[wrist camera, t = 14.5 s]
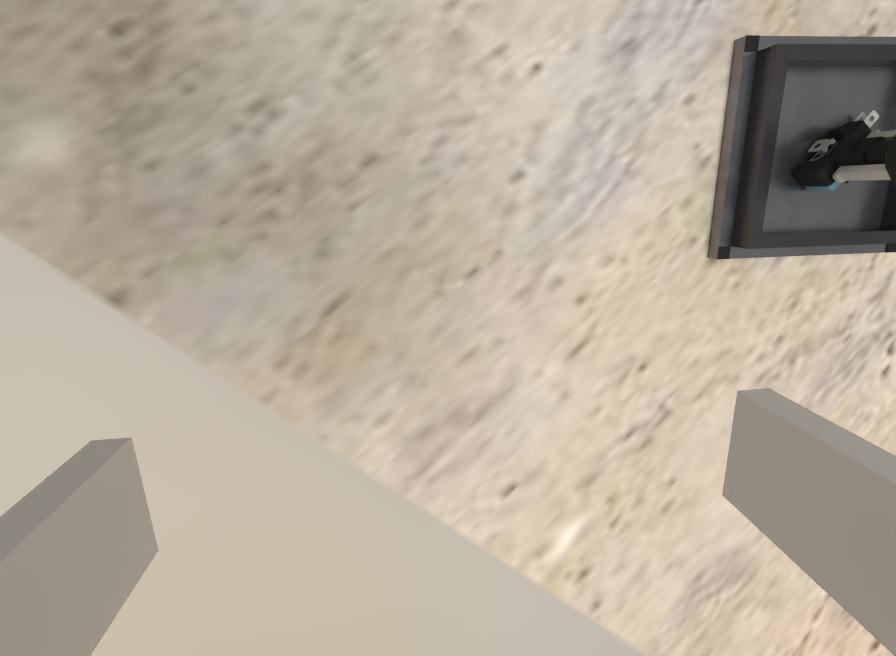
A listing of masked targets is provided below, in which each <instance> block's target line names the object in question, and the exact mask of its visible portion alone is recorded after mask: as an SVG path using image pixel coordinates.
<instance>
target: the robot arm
mask: <svg viewBox="0 0 896 656" xmlns="http://www.w3.org/2000/svg"><path fill="white" fill-rule="evenodd" d="M722 495H723V496H724V497H725V498H726V499H727V500H728V501H729V502H730V503H731V504H733V505H734V506H735V507H736V508H737V509H738V510H739V511H740V512H741V513H742V514H743V515H744V516H745V517H746V518H747V519H749V520H750V521H751V522H752V523H753V524H754V525H755V526H756V527H757V528H758V529H759V530H760V531H761V532H762V533H764V534H765V535H766V536H767V537H768V538H769V539H770V540H771V541H772V542H773V543H774V544H775V545H776V546H777V547H779V548H780V549H781V550H782V551H783V552H784V553H785V554H786V555H787V556H788V557H789V558H790V559H791V560H792V561H794V562H795V563H796V564H797V565H798V566H799V567H800V568H801V569H802V570H803V571H804V572H805V573H806V574H807V575H809V576H810V577H811V578H812V579H813V580H814V581H815V582H816V583H817V584H818V585H819V586H820V587H821V588H822V589H824V590H825V591H826V592H827V593H828V594H829V595H830V596H831V597H832V598H833V599H834V600H835V601H836V602H837V603H839V604H840V605H841V606H842V607H843V608H844V609H845V610H846V611H847V612H848V613H849V614H850V615H851V616H852V617H854V618H855V619H856V620H857V621H858V622H859V623H860V624H861V625H862V626H863V627H864V628H865V629H866V630H867V631H868V632H870V633H871V634H872V635H873V636H874V637H875V638H876V639H877V640H878V641H879V642H880V643H881V644H882V645H883V646H885V647H886V648H887V649H888V650H889V651H890V652H891V653H892V654H893V655H894V656H896V456H894V455H893V454H891V453H889V452H887V451H885V450H883V449H881V448H879V447H878V446H876V445H874V444H872V443H870V442H868V441H866V440H864V439H863V438H861V437H859V436H857V435H855V434H853V433H851V432H850V431H848V430H846V429H844V428H842V427H840V426H838V425H836V424H835V423H833V422H831V421H829V420H827V419H825V418H823V417H821V416H820V415H818V414H816V413H814V412H812V411H810V410H808V409H806V408H805V407H803V406H801V405H799V404H797V403H795V402H793V401H791V400H790V399H788V398H786V397H784V396H782V395H780V394H778V393H777V392H775V391H773V390H771V389H769V388H767V389H754V390H741V391H737V398H736V405H735V411H734V418H733V425H732V432H731V439H730V446H729V453H728V459H727V466H726V473H725V480H724V487H723V494H722ZM157 552H158V547H157V543H156V538H155V535H154V530H153V526H152V522H151V518H150V513H149V509H148V505H147V501H146V497H145V492H144V488H143V484H142V480H141V476H140V471H139V467H138V463H137V459H136V455H135V451H134V446H133V442H132V438H120V439H106V440H94V441H90V442H89V443H88V444H87V445H86V446H84V447H83V448H82V449H81V450H80V451H79V452H77V453H76V454H75V455H74V456H72V457H71V458H70V459H69V460H68V461H66V462H65V463H64V464H63V465H62V466H61V467H59V468H58V469H57V470H56V471H55V472H53V473H52V474H51V475H50V476H49V477H47V478H46V479H45V480H44V481H43V482H41V483H40V484H39V485H38V486H37V487H35V488H34V489H33V490H32V491H31V492H29V493H28V494H27V495H26V496H25V497H23V498H22V499H21V500H20V501H19V502H18V503H16V504H15V505H14V506H13V507H11V508H10V509H9V510H8V511H7V512H6V513H4V514H3V515H2V516H1V517H0V656H90V655H91V654H92V652H93V651H94V649H95V647H96V646H97V644H98V643H99V641H100V640H101V638H102V636H103V635H104V634H105V632H106V630H107V629H108V627H109V626H110V624H111V623H112V621H113V620H114V618H115V617H116V615H117V613H118V612H119V610H120V609H121V607H122V606H123V604H124V603H125V601H126V600H127V598H128V597H129V595H130V593H131V592H132V590H133V589H134V587H135V586H136V584H137V583H138V581H139V580H140V578H141V576H142V575H143V573H144V572H145V570H146V569H147V567H148V565H149V564H150V563H151V561H152V559H153V558H154V556H155V555H156V553H157Z"/></svg>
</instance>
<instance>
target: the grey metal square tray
mask: <svg viewBox="0 0 896 656" xmlns="http://www.w3.org/2000/svg"><path fill="white" fill-rule="evenodd" d="M872 110H875V111H876V113H877V114H878V115H879V118H878V119H877V120H876V121H875V123H874V124H873V125H872V126H871V127H870V129H871V130H872V131H877V130H879V131H881V132H883V131H892V130H896V37H813V36H745V37H743V38H740V39H738V40H736V41H735V43H734V51H733V59H732V67H731V75H730V83H729V91H728V99H727V107H726V115H725V123H724V131H723V139H722V147H721V155H720V163H719V171H718V179H717V187H716V195H715V203H714V211H713V219H712V227H711V235H710V243H709V251H708V257H710V258H715V259H729V258H753V257H778V256H803V255H828V254H853V253H878V252H896V188H895V187H894V185H893V183H892V181H891V180H859V181H849V182H848V183H841V184H840V185H839V186H838V187H837V188H836V189H835V190H832V191H807V189H806V188H805V187H804V186H803V185H802V184H801V183H800V182H799V181H798V180H797V178H796V177H795V176H794V175H793V174H792V171H793V170H794V169H795V167H796V166H797V165H799V164H801V163H805V162H806V161H807V160H808V159H809V158H810V157H811V156H812V155H813V153H814V152H808V150H809V148H810V147H811V146H812V145H813V144H814V143H815V142H816V141H818V140H824V139H827V138H828V136H829V135H830V134H831V133H832V132H833V131H834V130H835V129H836V128H838V127H842V126H843V125H844V124H845V123H847V122H852V121H854V119H855V118H856V117H857V116H858V115H859V114H860V113H861V112H864V114H865V115H866V116H868V115H869V113H870V112H871V111H872ZM859 120H862V118H859V119H858V121H859ZM869 121H873V116H871V117H870V118H869ZM820 145H821V144H818V145H816V146H815V147H814V148H817V147H819V146H820Z"/></svg>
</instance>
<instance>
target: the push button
mask: <svg viewBox="0 0 896 656" xmlns="http://www.w3.org/2000/svg"><path fill="white" fill-rule="evenodd" d="M871 116H873V121H869V118H870V117H871ZM859 118H862V120H859V121H858V119H859ZM878 118H879V115H878V114H877V113H876V111H875V110H872V111H871V112H870V113H869V115H868V116H866V115H865V114H864V112H861V113H860V114H859V115H858V116H857V117H856V118H855V119H854V121H852V122H847V123H845V124H844V125H843V126H842V127H838V128H836V129H835V130H834V131H833V132H832V133H831V134H830V135H829V136H828V138H827V139H824V140H818V141H816V142H815V143H814V144H813V145H812V146H811V147H810V148H809V150H808V152H814V153H813V155H812V156H811V157H810V158H809V159H808V160H807V161H806V162H805V163H801V164H799V165H797V166H796V167H795V169H794V170H793V171H792V174H793V175H794V176H795V177H796V178H797V180H798V181H799V182H800V183H801V184H802V185H803V186H804V187H805V188H806V189H807V191H832V190H835V189H836V188H837V187H838V186H839V185H840V184H841V183H848V182H849V181H859V180H891V181H892V183H893V185H894V187H895V188H896V130H892V131H883V132H881V131H879V130H877V131H872V130H871V129H870V127H871V126H872V125H873V124H874V123H875V121H876V120H877V119H878ZM818 144H821V145H820V146H819V147H817V148H814V147H815V146H816V145H818Z"/></svg>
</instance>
